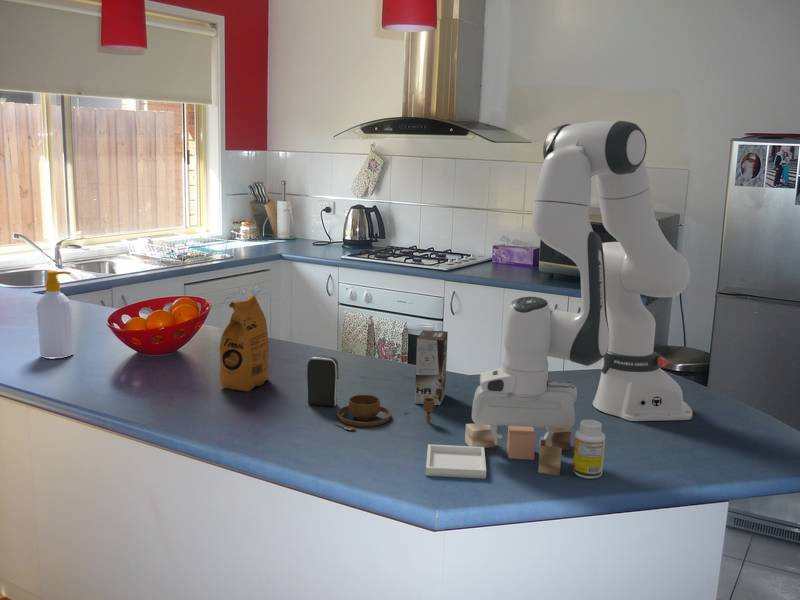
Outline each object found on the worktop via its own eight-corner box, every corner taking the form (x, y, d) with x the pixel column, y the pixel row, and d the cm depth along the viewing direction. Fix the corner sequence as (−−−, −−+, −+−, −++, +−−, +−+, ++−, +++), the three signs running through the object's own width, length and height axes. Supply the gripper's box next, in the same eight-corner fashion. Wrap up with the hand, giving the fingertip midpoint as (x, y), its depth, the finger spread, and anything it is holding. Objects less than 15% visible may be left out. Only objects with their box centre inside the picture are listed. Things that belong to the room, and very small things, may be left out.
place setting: (369, 404, 184) (369, 380, 183) (438, 423, 173) (439, 398, 171) (318, 424, 171) (318, 398, 169) (390, 447, 159) (390, 420, 158)
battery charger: (340, 402, 183) (340, 356, 181) (334, 408, 179) (335, 360, 177) (312, 399, 185) (312, 353, 182) (306, 404, 181) (306, 357, 179)
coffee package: (213, 388, 191) (211, 301, 187) (241, 374, 202) (239, 292, 198) (248, 393, 188) (247, 305, 183) (274, 379, 199) (273, 295, 195)
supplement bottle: (580, 465, 151) (584, 415, 149) (607, 473, 148) (611, 422, 146) (566, 474, 147) (570, 423, 145) (593, 482, 143) (598, 430, 141)
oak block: (560, 467, 150) (561, 447, 149) (559, 475, 146) (560, 455, 146) (539, 464, 151) (540, 445, 150) (538, 473, 147) (539, 453, 146)
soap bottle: (68, 360, 211) (63, 274, 206) (34, 359, 211) (28, 273, 206) (82, 351, 219) (77, 269, 214) (49, 351, 219) (43, 268, 215)
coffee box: (440, 406, 182) (443, 340, 179) (413, 403, 184) (415, 338, 180) (446, 394, 191) (448, 330, 188) (420, 391, 192) (422, 328, 189)
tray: (483, 454, 155) (484, 447, 155) (485, 478, 144) (486, 470, 144) (427, 451, 156) (428, 444, 155) (425, 475, 145) (426, 467, 144)
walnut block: (562, 442, 163) (563, 424, 162) (570, 449, 159) (571, 431, 158) (544, 443, 162) (545, 425, 161) (551, 451, 158) (552, 432, 157)
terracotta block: (531, 450, 158) (533, 426, 157) (533, 460, 153) (535, 436, 152) (506, 448, 158) (508, 425, 157) (508, 458, 154) (509, 434, 153)
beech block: (487, 440, 163) (488, 422, 162) (494, 447, 159) (495, 429, 158) (464, 442, 161) (465, 424, 161) (471, 449, 158) (472, 431, 157)
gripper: (575, 377, 155) (570, 442, 158) (473, 372, 156) (470, 437, 159) (580, 387, 149) (575, 454, 152) (473, 382, 150) (470, 449, 153)
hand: (520, 445), depth 156 cm, fingers open, 8 cm apart
